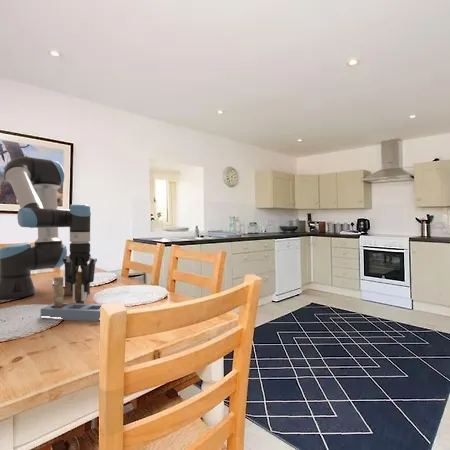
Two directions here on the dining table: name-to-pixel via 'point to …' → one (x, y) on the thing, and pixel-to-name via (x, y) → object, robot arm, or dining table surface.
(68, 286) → the wooden block
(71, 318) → the hole block
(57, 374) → the dining table surface
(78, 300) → the walnut dowel
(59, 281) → the beech dowel
